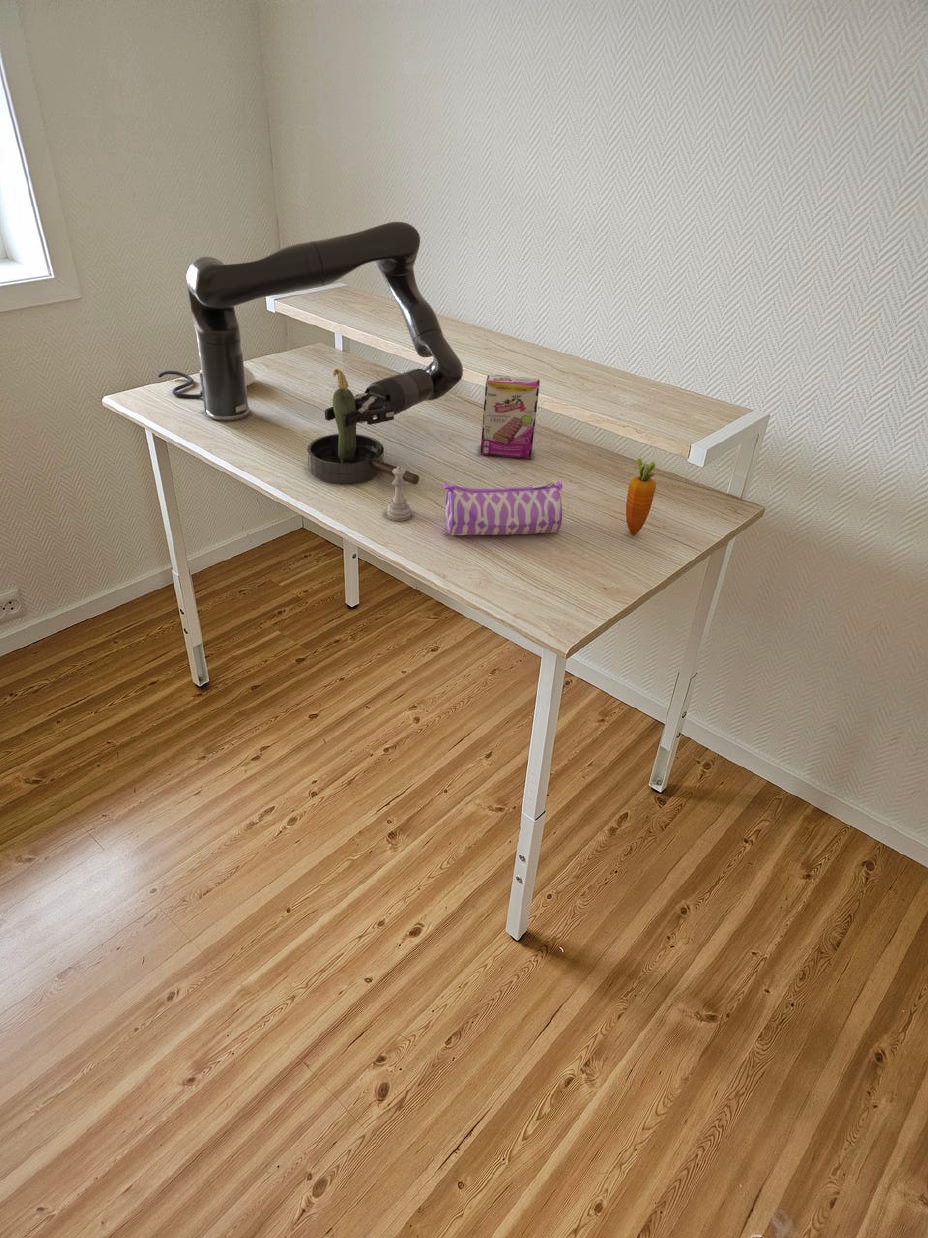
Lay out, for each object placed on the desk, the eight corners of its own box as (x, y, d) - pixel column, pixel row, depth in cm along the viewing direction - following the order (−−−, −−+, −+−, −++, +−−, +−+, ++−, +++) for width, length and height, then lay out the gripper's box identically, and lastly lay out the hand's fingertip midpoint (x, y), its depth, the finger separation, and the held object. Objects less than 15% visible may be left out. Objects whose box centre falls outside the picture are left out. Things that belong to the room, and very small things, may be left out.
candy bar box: (479, 455, 178) (484, 381, 169) (481, 446, 182) (486, 373, 173) (531, 460, 177) (539, 385, 168) (532, 450, 182) (540, 377, 172)
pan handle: (370, 469, 164) (369, 460, 163) (376, 466, 165) (376, 457, 164) (412, 486, 159) (412, 476, 158) (419, 482, 160) (419, 473, 159)
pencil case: (552, 515, 157) (558, 470, 152) (567, 540, 150) (574, 493, 145) (438, 522, 153) (439, 475, 148) (447, 548, 146) (449, 499, 140)
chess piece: (384, 511, 156) (383, 462, 150) (406, 508, 157) (406, 459, 151) (391, 522, 152) (390, 472, 146) (413, 519, 154) (414, 469, 148)
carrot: (616, 528, 154) (629, 453, 146) (642, 528, 155) (657, 454, 146) (623, 542, 150) (637, 465, 142) (649, 542, 151) (665, 466, 142)
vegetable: (361, 464, 171) (358, 368, 159) (350, 472, 167) (346, 374, 156) (343, 459, 172) (338, 364, 160) (331, 467, 169) (326, 370, 157)
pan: (292, 469, 168) (290, 449, 166) (345, 447, 179) (344, 427, 176) (347, 493, 161) (347, 471, 158) (399, 467, 171) (399, 447, 169)
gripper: (366, 369, 174) (307, 390, 162) (419, 386, 167) (361, 409, 156) (367, 404, 178) (310, 427, 167) (418, 421, 172) (362, 446, 160)
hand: (335, 418), depth 161 cm, fingers closed on vegetable, 4 cm apart
